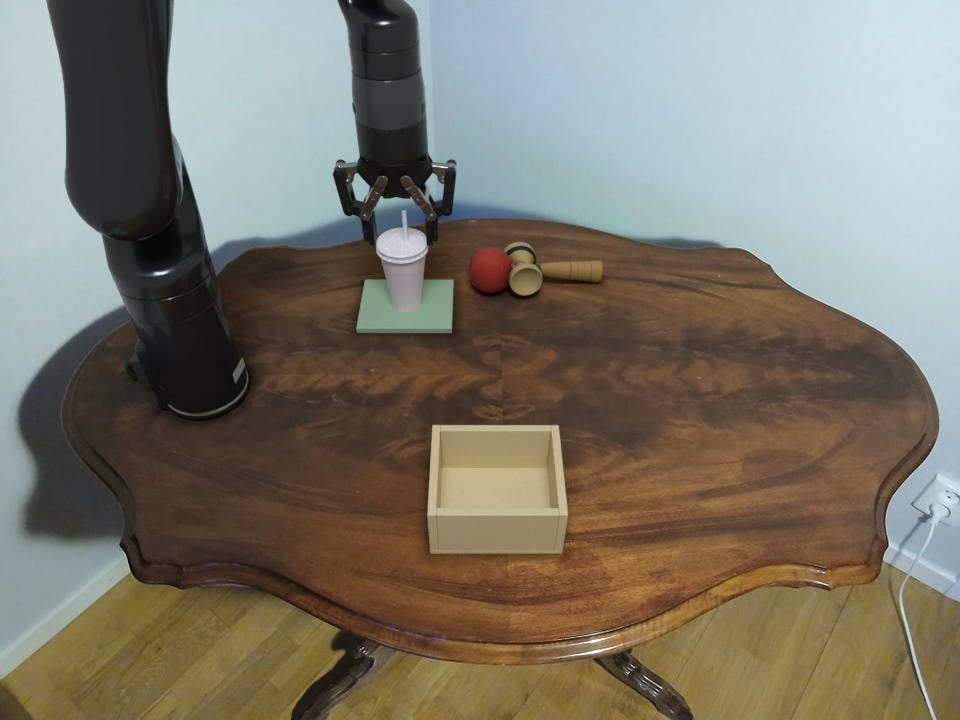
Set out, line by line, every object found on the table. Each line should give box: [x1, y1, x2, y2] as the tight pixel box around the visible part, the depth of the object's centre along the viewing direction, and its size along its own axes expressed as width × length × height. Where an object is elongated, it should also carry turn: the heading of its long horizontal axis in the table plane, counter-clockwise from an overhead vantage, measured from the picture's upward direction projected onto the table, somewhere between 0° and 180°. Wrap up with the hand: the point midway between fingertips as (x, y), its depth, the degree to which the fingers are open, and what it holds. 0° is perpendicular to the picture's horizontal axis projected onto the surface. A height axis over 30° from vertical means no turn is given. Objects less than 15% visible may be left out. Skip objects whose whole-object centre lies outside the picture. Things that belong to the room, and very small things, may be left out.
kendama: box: [467, 241, 604, 297], centre depth 97 cm, size 8×6×18 cm
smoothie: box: [375, 209, 430, 312], centre depth 90 cm, size 6×6×14 cm
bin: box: [426, 424, 569, 555], centre depth 71 cm, size 13×11×6 cm
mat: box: [356, 278, 455, 334], centre depth 95 cm, size 12×10×1 cm
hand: (401, 241), depth 88 cm, fingers closed on smoothie, 6 cm apart
